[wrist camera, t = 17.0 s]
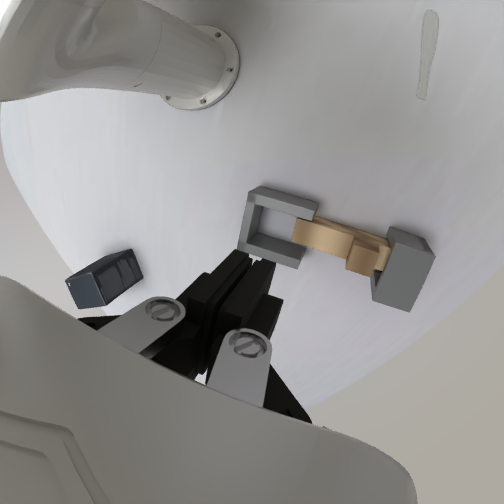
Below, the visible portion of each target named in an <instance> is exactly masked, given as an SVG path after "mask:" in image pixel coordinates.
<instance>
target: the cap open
mask: <svg viewBox="0 0 504 504" xmlns="http://www.w3.org/2000/svg"><path fill="white" fill-rule="evenodd" d="M263 207H267V208H270V209H274V210H277V211H280V212H284V213H287V214H290V215H294V216H297V217H300V218H303V219H307V220H310V221H312V219H313V217H314V215H315V213H316V210H317V207H318V203H317V202H313V201H310V200H307V199H303V198H300V197H296V196H293V195H290V194H286V193H283V192H279V191H276V190H272V189H269V188H265V187H261V186H259V187H257V188H255V189H253V190H251V191H249V192H248V197H247V202H246V207H245V211H244V216H243V221H242V226H241V231H240V236H239V240H238V245H237V250H240V251H243V252H246V253H249V254H252V255H255V256H258V257H261V258H264V259H267V260H270V261H273V262H276V263H279V264H282V265H286V266H289V267H292V268H295V269H298V267H299V265H300V262H301V260H302V258H303V255H304V252H305V247H302V246H298V245H295V244H292V243H289V242H286V241H283V240H280V239H276V238H273V237H270V236H267V235H264V234H260V233H257V230H258V225H259V221H260V217H261V212H262V208H263Z"/></svg>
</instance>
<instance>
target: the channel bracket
mask: <svg viewBox="0 0 504 504" xmlns="http://www.w3.org/2000/svg"><path fill="white" fill-rule="evenodd" d="M387 238H388V241H389V244H390V247H391V251H390V254H389V256H388V259H387V261H386V264H385V266H384V269H383V271H382V273H381V272H378V271H375V270H373V272H372V275H371V277H370V280H371V292H372V301H375V302H378V303H382V304H385V305H388V306H391V307H394V308H397V309H400V310H403V311H406V312H410V311H411V309H412V307H413V305H414V303H415V301H416V299H417V297H418V294H419V292H420V290H421V288H422V286H423V284H424V282H425V279H426V277H427V275H428V273H429V270H430V268H431V266H432V264H433V261H434V259H435V255H434V253H433V252H432V250H431V249H430V247H429V245H428V244H427V242H426V241H425V239H423V238H420V237H418V236H415V235H412V234H409V233H407V232H404V231H401V230H398V229H396V228H393V227H389V230H388V233H387Z"/></svg>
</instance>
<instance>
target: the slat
mask: <svg viewBox="0 0 504 504" xmlns="http://www.w3.org/2000/svg"><path fill="white" fill-rule="evenodd" d="M291 242H294V243H298V244H301V245H304V246H307V247H310V248H313V249H316V250H319V251H323V252H326V253H329V254H332V255H335V256H338V257H341V258H344V259H346V270H350V271H353V272H356V273H359V274H362V275H365V276H368V277H371V275H372V272H373V270H374V269H377V270H380V271H383V269H384V266H385V264H386V261H387V259H388V256H389V254H390V251H391V247H390V244H389V241H388V240H387V239H384V238H381V237H378V236H375V235H372V234H369V233H366V232H363V231H360V230H357V229H354V228H351V227H348V226H345V225H342V224H339V223H335V222H332V221H329V220H326V219H323V218H320V217H316V216H314V217H313V219H312V221H310V220H307V219H303V218H300V217H298V218H297V221H296V224H295V228H294V232H293V235H292V239H291Z"/></svg>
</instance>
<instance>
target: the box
mask: <svg viewBox="0 0 504 504" xmlns="http://www.w3.org/2000/svg"><path fill="white" fill-rule="evenodd" d="M141 279H143V275H142V273H141V271H140V268H139V266H138V263H137V261H136V258H135V256H134V253H133V251H132V249H129V250H125V251H121V252H118V253H115V254H111V255H108V256H105V257H103V258H101V259H99V260H97V261H96V262H94V263H92V264H91V265H89V266H87V267H85V268H84V269H82V270H80V271H79V272H77V273H75V274H74V275H72V276H70V277H69V278H67V279H66V280H65V282H66V284H67V286H68V288H69V291H70V293H71V295H72V297H73V299H74V301H75V304H76V305H77V307H78V309H85V308H94V307H101V306H107V305H108V304H109V303H110V302H112V301H113V300H114V299H116V298H117V297H118V296H120V295H121V294H122V293H124V292H125V291H126V290H128V289H129V288H130V287H132V286H133V285H134V284H136V283H137V282H138V281H140V280H141Z"/></svg>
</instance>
